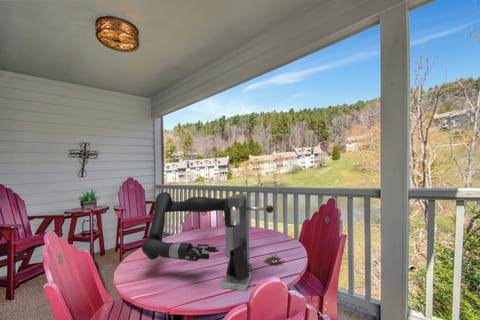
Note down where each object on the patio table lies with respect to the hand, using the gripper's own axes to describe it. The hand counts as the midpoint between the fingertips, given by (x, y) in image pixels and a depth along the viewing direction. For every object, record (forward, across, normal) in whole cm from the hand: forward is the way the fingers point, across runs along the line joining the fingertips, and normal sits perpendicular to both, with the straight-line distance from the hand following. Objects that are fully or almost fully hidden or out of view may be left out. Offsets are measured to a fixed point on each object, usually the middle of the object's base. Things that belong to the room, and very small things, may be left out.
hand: (212, 252), depth 102 cm
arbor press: (+17, -4, -12) cm, 21 cm away
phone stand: (+11, -1, -10) cm, 15 cm away
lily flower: (+26, -25, -13) cm, 38 cm away
